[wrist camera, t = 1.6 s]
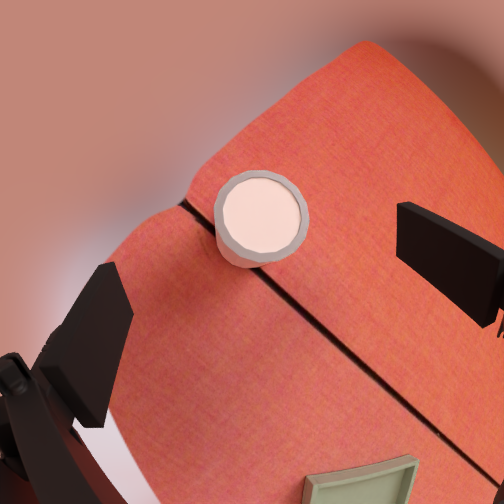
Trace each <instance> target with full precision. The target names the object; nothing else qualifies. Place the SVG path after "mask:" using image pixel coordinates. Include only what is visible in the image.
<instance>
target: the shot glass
mask: <svg viewBox="0 0 504 504" xmlns="http://www.w3.org/2000/svg"><path fill="white" fill-rule="evenodd" d="M214 218H215V230H216V241H217V247H218V249H219V251H220V253H221V254H222V256H223V257H224V258H225V259H226V260H227V261H228V262H230V263H231V264H232V265H235V266H238V267H241V268H255V267H259V266H263V265H266V264H270V263H273V262H277V261H279V260H281V259H283V258H285V257H287V256H289V255H290V254H292V253H294V252H295V251H296V250H297V249H298V247H299V246H300V245H301V243H302V242H303V241H304V239H305V238H306V234H307V230H308V225H309V221H310V220H309V214H308V208H307V203H306V201H305V200H304V198H303V196H302V194H301V193H300V191H299V189H298V188H297V187H296V186H295V185H294V184H292V183H291V182H290V181H289V180H287V179H286V178H285V177H284V176H282V175H279V174H276V173H273V172H270V171H267V170H248V171H246V172H243V173H241V174H239V175H236V176H234V177H232V178H231V179H230V180H229V181H228V182H227V183H226V184H225V185H224V186H223V187H222V188H221V189H220V191H219V193H218V196H217V199H216V202H215V205H214Z"/></svg>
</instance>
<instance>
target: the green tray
mask: <svg viewBox="0 0 504 504" xmlns="http://www.w3.org/2000/svg"><path fill="white" fill-rule="evenodd" d="M419 461H420V460H419V459H417V458H415V457H413V456H411V455H410V454H408V455H405V456H402V457H398V458H394V459H391V460H387V461H383V462H379V463H375V464H371V465H366V466H362V467H357V468H352V469H347V470H341V471H336V472H329V473H323V474H316V475H308V476H306V479H305V485H304V491H303V497H302V503H301V504H407V503H408V500H409V497H410V494H411V491H412V487H413V484H414V480H415V477H416V473H417V469H418V465H419Z"/></svg>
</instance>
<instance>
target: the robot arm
mask: <svg viewBox="0 0 504 504" xmlns="http://www.w3.org/2000/svg"><path fill="white" fill-rule="evenodd" d="M396 256H397V257H398V258H399V259H401V260H402V261H403V262H404V263H406V264H407V265H408V266H410V267H411V268H412V269H413V270H415V271H416V272H417V273H418V274H420V275H421V276H422V277H423V278H425V279H426V280H427V281H428V282H429V283H431V284H432V285H433V286H434V287H435V288H437V289H438V290H439V291H440V292H441V293H443V294H444V295H445V296H446V297H447V298H449V299H450V300H451V301H452V302H453V303H454V304H456V305H457V306H458V307H459V308H460V309H461V310H462V311H464V312H465V313H466V314H467V315H468V316H469V317H470V318H472V319H473V320H474V321H475V322H476V323H477V324H478V325H479V326H480V327H481V328H485V327H487V326H488V325H490V324H492V323H494V322H495V320H496V317H497V314H498V310H499V308H501V309H502V310H503V311H504V250H503V249H501V248H499V247H498V246H496V245H494V244H492V243H491V242H489V241H487V240H485V239H483V238H482V237H480V236H478V235H476V234H474V233H472V232H470V231H469V230H467V229H465V228H463V227H461V226H459V225H457V224H455V223H453V222H451V221H449V220H447V219H445V218H443V217H441V216H439V215H437V214H435V213H433V212H431V211H429V210H427V209H425V208H422V207H420V206H418V205H416V204H414V203H412V202H403V203H398V204H397V245H396ZM133 315H134V313H133V310H132V308H131V305H130V303H129V300H128V298H127V295H126V293H125V290H124V288H123V285H122V282H121V280H120V277H119V274H118V271H117V269H116V266H115V263H114V262H109V263H105V264H101V265H99V266H98V267H97V269H96V270H95V272H94V273H93V275H92V276H91V278H90V279H89V281H88V282H87V284H86V285H85V287H84V288H83V290H82V292H81V293H80V295H79V296H78V298H77V299H76V301H75V303H74V304H73V306H72V308H71V309H70V311H69V313H68V314H67V316H66V318H65V319H64V321H63V323H62V324H61V325H59V326H58V327H57V328H56V329H55V330H54V331H53V332H52V333H51V334H50V336H49V338H48V340H47V341H46V345H44V347H43V348H42V352H40V354H39V356H38V357H37V359H36V361H35V363H34V365H33V367H32V369H31V370H29V368H28V367H27V365H26V364H25V362H24V361H23V359H22V357H21V356H20V355H19V353H15V352H13V353H8V354H6V355H4V356H2V357H1V358H0V393H1V394H2V395H3V396H1V397H0V453H1V455H0V456H1V457H0V504H128V503H127V502H126V501H125V500H124V499H123V497H122V496H121V495H120V493H119V492H118V491H117V489H116V488H115V487H114V486H113V484H112V483H111V482H110V480H109V479H108V478H107V476H106V475H105V473H104V472H103V471H102V469H101V468H100V466H99V465H98V463H97V462H96V460H95V459H94V457H93V456H92V454H91V453H90V451H89V450H88V448H87V447H86V445H85V443H84V442H83V440H82V439H81V437H80V435H79V434H78V432H77V431H76V430H75V429H74V427H73V426H72V424H73V421H74V418H77V420H78V421H79V422H80V424H81V425H82V426H83V427H84V428H103V427H104V423H105V418H106V413H107V410H108V405H109V401H110V397H111V393H112V389H113V385H114V381H115V377H116V374H117V370H118V366H119V362H120V359H121V355H122V352H123V348H124V345H125V341H126V338H127V335H128V331H129V328H130V325H131V321H132V318H133ZM503 331H504V315H503V318H502V322H501V325H500V328H499V331H498V333H497V337H498V338H499V337H500V334H501V333H502V332H503ZM503 338H504V335H503ZM493 504H504V480H503V482H502V484H501V486H500V487H499V489H498V491H497V493H496V496H495V498H494V501H493Z"/></svg>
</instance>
